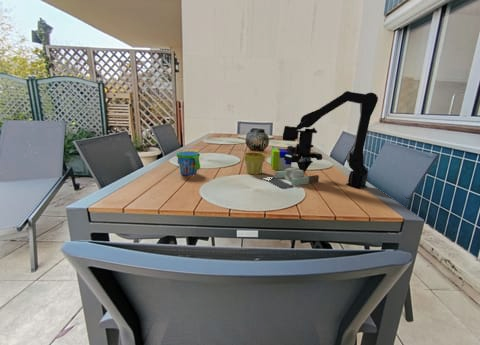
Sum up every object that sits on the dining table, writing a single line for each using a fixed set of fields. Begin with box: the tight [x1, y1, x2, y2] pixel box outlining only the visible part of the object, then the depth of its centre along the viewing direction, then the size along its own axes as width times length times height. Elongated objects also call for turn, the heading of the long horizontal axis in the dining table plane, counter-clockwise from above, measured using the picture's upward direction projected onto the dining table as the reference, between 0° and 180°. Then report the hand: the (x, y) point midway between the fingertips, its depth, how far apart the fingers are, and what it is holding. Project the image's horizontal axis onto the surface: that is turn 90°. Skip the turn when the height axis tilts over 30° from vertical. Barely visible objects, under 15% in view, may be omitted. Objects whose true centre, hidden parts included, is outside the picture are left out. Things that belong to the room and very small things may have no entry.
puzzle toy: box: [270, 147, 293, 171], centre depth 137 cm, size 10×10×10 cm
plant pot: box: [243, 151, 266, 175], centre depth 124 cm, size 10×10×10 cm
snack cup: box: [176, 150, 201, 176], centre depth 118 cm, size 16×10×10 cm
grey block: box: [284, 167, 305, 183], centre depth 115 cm, size 6×6×5 cm
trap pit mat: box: [266, 176, 294, 189], centre depth 111 cm, size 16×6×1 cm, turn 28°
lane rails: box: [274, 170, 320, 186], centre depth 116 cm, size 13×15×3 cm
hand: (301, 174), depth 117 cm, fingers closed
